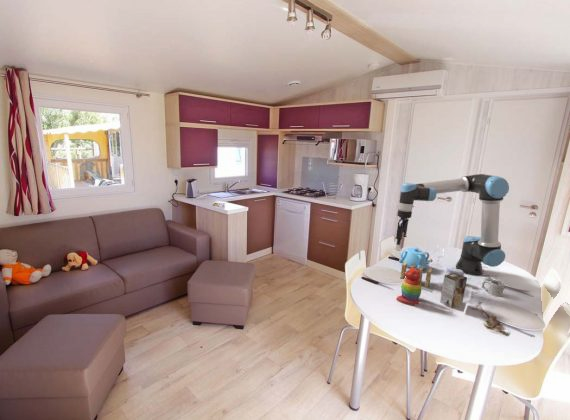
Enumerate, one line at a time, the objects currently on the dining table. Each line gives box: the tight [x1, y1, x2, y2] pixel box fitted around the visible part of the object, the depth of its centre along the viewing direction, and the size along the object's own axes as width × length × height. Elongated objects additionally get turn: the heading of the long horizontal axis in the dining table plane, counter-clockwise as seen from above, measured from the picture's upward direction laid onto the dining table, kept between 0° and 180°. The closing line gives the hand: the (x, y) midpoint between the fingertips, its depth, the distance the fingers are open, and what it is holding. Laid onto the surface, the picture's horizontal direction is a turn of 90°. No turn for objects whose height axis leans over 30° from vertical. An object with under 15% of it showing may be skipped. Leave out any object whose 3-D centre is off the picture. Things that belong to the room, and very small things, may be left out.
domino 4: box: [424, 267, 433, 288], centre depth 170 cm, size 2×5×10 cm, turn 143°
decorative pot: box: [398, 246, 430, 270], centre depth 198 cm, size 16×16×14 cm
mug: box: [481, 279, 506, 298], centre depth 169 cm, size 10×7×7 cm
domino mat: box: [421, 280, 437, 293], centre depth 176 cm, size 26×12×1 cm, turn 53°
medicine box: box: [445, 268, 465, 276], centre depth 177 cm, size 8×4×9 cm, turn 84°
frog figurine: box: [483, 315, 511, 337], centre depth 136 cm, size 12×12×4 cm
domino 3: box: [418, 266, 424, 283], centre depth 172 cm, size 2×5×10 cm, turn 143°
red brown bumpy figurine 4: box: [400, 262, 408, 279], centre depth 177 cm, size 2×5×10 cm, turn 143°
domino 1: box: [396, 233, 404, 252], centre depth 176 cm, size 2×5×10 cm, turn 143°
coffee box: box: [439, 273, 468, 309], centre depth 152 cm, size 9×6×16 cm
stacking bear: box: [395, 268, 422, 306], centre depth 154 cm, size 11×10×18 cm
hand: (399, 248), depth 177 cm, fingers closed on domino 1, 5 cm apart
